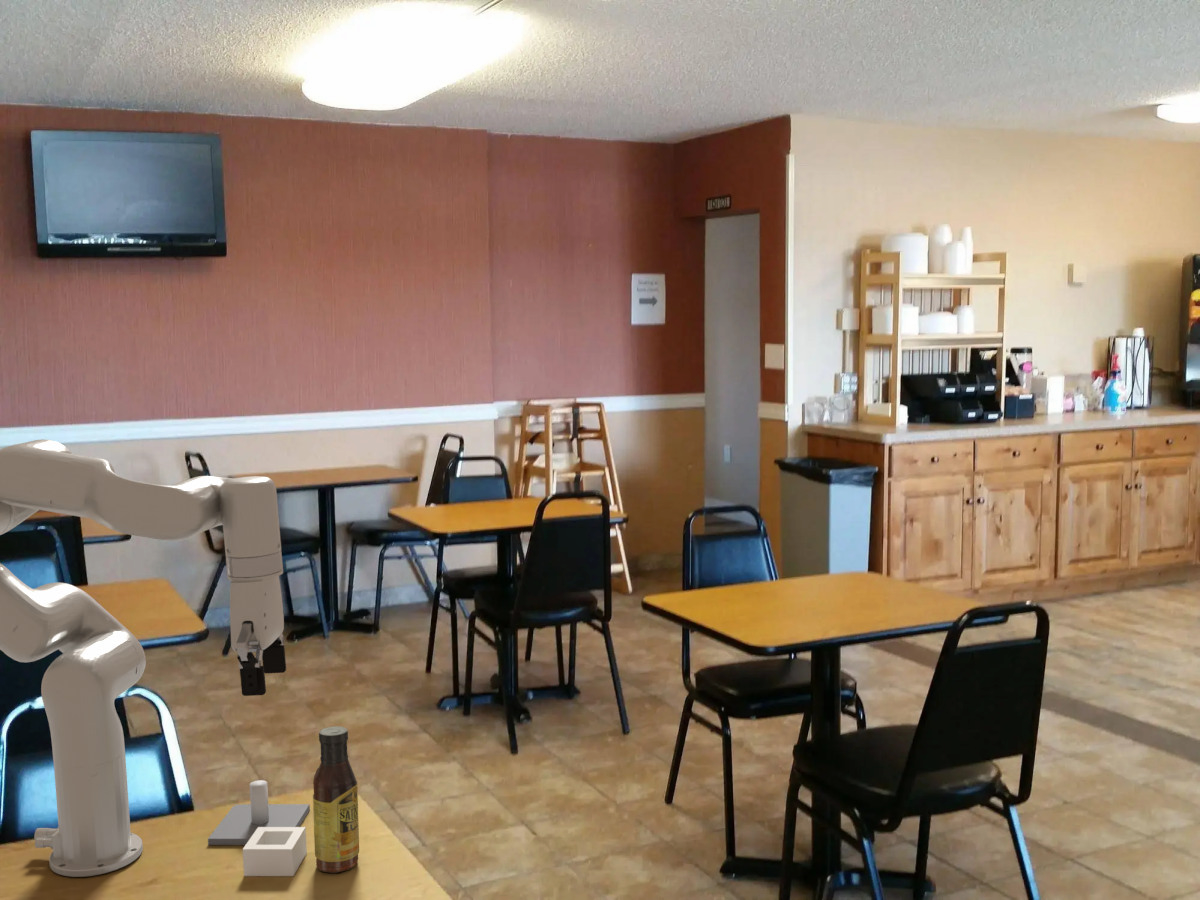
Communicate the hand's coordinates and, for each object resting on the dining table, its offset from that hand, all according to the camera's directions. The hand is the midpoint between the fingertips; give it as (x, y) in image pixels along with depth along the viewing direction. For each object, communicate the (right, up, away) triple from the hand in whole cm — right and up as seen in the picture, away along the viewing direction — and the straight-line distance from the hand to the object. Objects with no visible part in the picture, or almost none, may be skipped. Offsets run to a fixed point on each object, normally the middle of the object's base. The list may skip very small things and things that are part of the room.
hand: (264, 683), depth 168 cm
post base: (-5, -25, +14) cm, 29 cm away
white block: (+1, -27, +2) cm, 27 cm away
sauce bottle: (+10, -27, +2) cm, 29 cm away
